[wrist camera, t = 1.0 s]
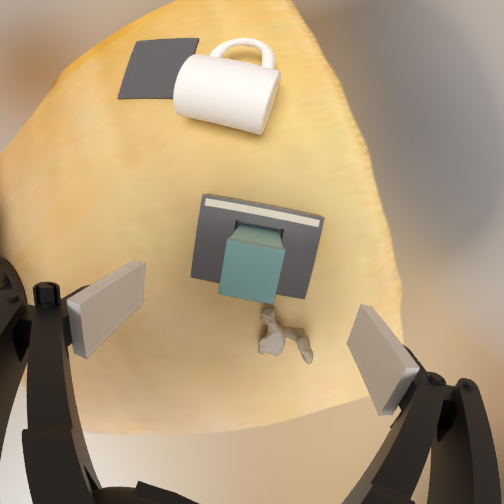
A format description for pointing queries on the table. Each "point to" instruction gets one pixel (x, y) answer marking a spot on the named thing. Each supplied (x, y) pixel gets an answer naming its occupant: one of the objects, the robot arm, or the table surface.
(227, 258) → the plug
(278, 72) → the mug
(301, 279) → the grey socket block
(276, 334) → the bone
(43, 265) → the table surface
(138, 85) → the mat
